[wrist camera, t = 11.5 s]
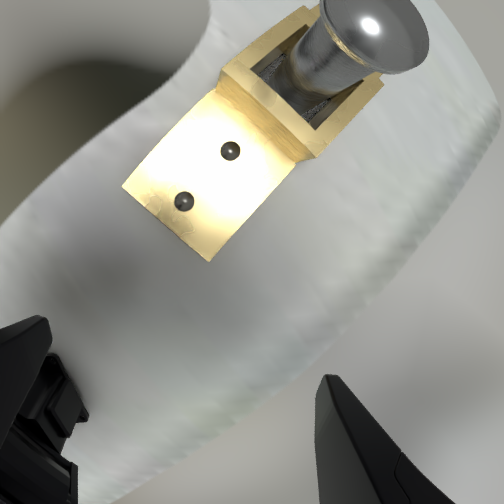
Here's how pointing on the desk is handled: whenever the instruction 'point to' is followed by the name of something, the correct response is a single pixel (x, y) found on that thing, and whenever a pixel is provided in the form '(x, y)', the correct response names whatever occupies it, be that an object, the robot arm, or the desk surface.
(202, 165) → the brass socket plate
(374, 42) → the hinge pin
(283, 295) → the desk surface
